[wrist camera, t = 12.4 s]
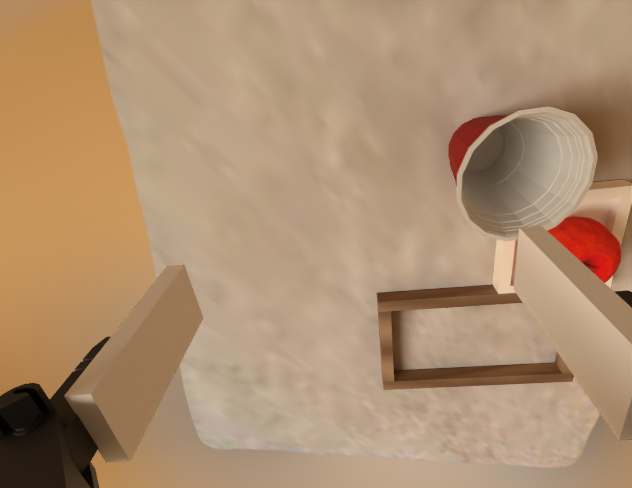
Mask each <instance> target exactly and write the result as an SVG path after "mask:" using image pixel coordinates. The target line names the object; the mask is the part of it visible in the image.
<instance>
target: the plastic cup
mask: <svg viewBox="0 0 632 488" xmlns="http://www.w3.org/2000/svg"><path fill="white" fill-rule="evenodd" d="M449 159H450V166H451V169H452V172H453V175H454V178H455V180H456V186H457V188H456V200H457V203H458V205H459V208H460V210H461V212H462V215H463V217H464V219H465V222H467V223H468V224H469V225H470V226H471V227H473V228H474V229H475V230H476V231H478V232H479V233H480V234H481V235H482V236H486V237H490V238H494V239H498V240H502V241H512V240H518V235H519V228H522V227H531V226H540V225H541V226H542V227H543V228H545V229H546V230H550V229H552V228H554V227H556V226H557V225H558V224H559V223H561V222H562V221H563V220H564V219H565V218H566V217H567V216H569V215H570V214H571V213H572V212H573V211H574V210H575V209H577V208H578V206H579V204H580V203H581V201H582V200H583V198H584V196H585V195H586V193H587V191H588V190H589V188H590V187H591V185H592V183H593V178H594V174H595V169H596V164H597V159H598V155H597V151H596V146H595V142H594V138H593V133H592V132H591V131H590V129H589V128H588V127H587V126H586V125H585V124H584V123H583V122H582V121H581V120H580V119H579V118H578V117H577V116H576V114H573V113H570V112H566V111H563V110H560V109H557V108H553V107H550V106H548V107H541V108H533V109H526V110H519V111H516V112H514V113H512V114H510V115H509V116H492V117H482V118H474V119H472V120H470V121H468V122H466V123H464V124H462V125H461V126H460V127H459V128H458V129H457V130H456V132H455V133H454V134H453V136H452V139H451V141H450V143H449Z"/></svg>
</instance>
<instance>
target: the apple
mask: <svg viewBox="0 0 632 488" xmlns="http://www.w3.org/2000/svg"><path fill="white" fill-rule="evenodd" d="M547 231H548V232H549V233H550V234H551V235H552V236H553V237H554V238H556V239H557V240H558V241H559V242H560V243H561V244H562V245H563V246H564V247H565V248H567V249H568V250H569V251H570V252H571V253H572V254H573V255H574V256H575V257H576V258H578V259H579V260H580V261H581V262H582V263H583V264H584V265H585V266H586V267H587V268H589V269H590V270H591V271H592V272H593V273H594V274H595V275H596V276H597V277H598V278H600V279H601V280H602V281H603V282H604V283H605V282H607V281H608V280H609V279H610V278H611V277H612V276H613V275H614V273H615V272H616V270H617V268H618V266H619V263H620V258H621V248H620V243H619V241H618V240H617V238H616V237H615V236H614V235H613V234H612V233H611V232H610V231H609V230H608V229H607V228H606V227H605V226H604V225H603V224H601V223H600V222H598V221H596V220H594V219H591V218H587V217H577V216H572V217H568V218H565V219H564V220H563V221H562V222H561V223H559V224H558V225H557V226H556V227H554V228H552V229H550V230H547Z"/></svg>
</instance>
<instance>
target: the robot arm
mask: <svg viewBox="0 0 632 488" xmlns="http://www.w3.org/2000/svg"><path fill="white" fill-rule="evenodd" d="M514 291H515V292H516V294H517V295H518V297H519V298H520V299H521V301H522V302H523V304H524V305H525V307H526V308H527V309H528V311H529V312H530V314H531V315H532V317H533V318H534V319H535V321H536V322H537V324H538V325H539V327H540V328H541V329H542V331H543V332H544V334H545V335H546V337H547V338H548V339H549V341H550V342H551V344H552V345H553V347H554V348H555V349H556V351H557V352H558V354H559V355H560V357H561V358H562V359H563V361H564V362H565V364H566V365H567V367H568V368H569V369H570V371H571V372H572V374H573V375H574V377H575V378H576V380H577V381H578V382H579V384H580V385H581V387H582V388H583V390H584V391H585V392H586V394H587V395H588V397H589V398H590V400H591V401H592V402H593V404H594V405H595V407H596V408H597V410H598V411H599V412H600V414H601V415H602V417H603V418H604V420H605V421H606V422H607V424H608V425H609V427H610V428H611V430H612V431H613V432H614V434H615V435H616V436H617V438H618V439H619V440H632V292H630V291H617V292H614V291H613V290H612V289H611V288H609V287H608V286H607V285H606V284H605V283H604V282H603V281H602V280H601V279H600V278H598V277H597V276H596V275H595V274H594V273H593V272H592V271H591V270H590V269H589V268H587V267H586V266H585V265H584V264H583V263H582V262H581V261H580V260H579V259H578V258H576V257H575V256H574V255H573V254H572V253H571V252H570V251H569V250H568V249H567V248H565V247H564V246H563V245H562V244H561V243H560V242H559V241H558V240H557V239H556V238H554V237H553V236H552V235H551V234H550V233H549V232H548V231H547V230H546V229H545V228H543V227H542V226H541V225H540V226H531V227H522V228H519V235H518V247H517V258H516V269H515V280H514ZM202 319H203V316H202V313H201V310H200V307H199V305H198V302H197V299H196V296H195V293H194V291H193V288H192V285H191V282H190V279H189V277H188V274H187V271H186V268H185V266H184V265H176V266H167V267H166V268H165V269H164V271H163V272H162V273H161V274H160V276H159V277H158V278H157V279H156V281H155V282H154V283H153V284H152V286H151V287H150V288H149V290H148V291H147V292H146V293H145V295H144V296H143V297H142V298H141V300H140V301H139V302H138V303H137V305H136V306H135V307H134V308H133V310H132V311H131V312H130V313H129V315H128V316H127V317H126V318H125V320H124V321H123V322H122V324H121V325H120V326H119V327H118V329H117V330H116V331H115V332H114V334H113V335H112V336H111V337H106V338H105V339H103V340H102V341H101V342H100V343H98V344H97V345H96V346H95V347H93V348H92V349H91V350H90V352H89V353H88V354H87V355H86V356H85V358H84V359H83V362H81V363H80V364H79V365H78V366H77V367H76V369H75V372H72V373H71V375H70V376H69V377H68V378H67V380H66V381H65V382H64V383H63V384H62V386H61V387H60V388H59V389H58V390H57V392H56V393H55V394H54V395H53V396H52V398H51V399H50V400H49V398H48V397H47V395H46V394H45V392H44V391H43V389H42V388H41V386H40V385H39V384H36V383H30V384H24V385H21V386H19V387H16V388H13V389H11V390H10V391H8V392H6V393H4V394H3V395H2V396H0V488H99V485H98V480H97V475H96V471H95V468H94V467H93V465H92V463H91V462H90V461H91V460H92V458H93V456H94V455H95V453H96V451H97V450H99V452H100V453H101V455H102V457H103V458H104V460H105V461H106V462H123V461H130V460H131V459H132V457H133V454H134V453H135V451H136V449H137V447H138V445H139V443H140V441H141V439H142V437H143V435H144V433H145V431H146V429H147V427H148V425H149V423H150V421H151V419H152V417H153V415H154V413H155V411H156V410H157V408H158V406H159V404H160V401H161V400H162V398H163V396H164V394H165V392H166V390H167V388H168V386H169V384H170V382H171V380H172V378H173V376H174V374H175V372H176V370H177V368H178V366H179V364H180V362H181V360H182V359H183V357H184V355H185V353H186V351H187V349H188V347H189V345H190V343H191V341H192V339H193V337H194V335H195V333H196V331H197V329H198V327H199V325H200V323H201V321H202Z"/></svg>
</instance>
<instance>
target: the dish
mask: <svg viewBox="0 0 632 488" xmlns="http://www.w3.org/2000/svg"><path fill="white" fill-rule="evenodd" d="M631 204H632V183H630V182H628V181H626V180H624V179H623V180H612V181H602V182H593V183H592V185H591V187H590V188H589V190H588V191H587V193H586V195H585V196H584V198H583V200H582V201H581V203H580V204H579V206H578V208H577V209H575V210H574V211H573V212H572V213H571V214H570V215H569V216H567V217H566V218H568V217H572V216H577V217H587V218H591V219H594V220H596V221H598V222H600V223H601V224H603V225H604V226H605V227H606V228H607V229H608V230H609V231H610V232H611V233H612V234H613V235H614V236H615V237H616V238H617V240H618V241H619V243H620V248H621V244H622V240H623V236H624V232H625V228H626V224H627V220H628V216H629V212H630V208H631ZM517 247H518V240H512V241H502V240H498V239H497V243H496V253H495V264H494V275H493V286H494V288H495V289H496V291H497V292H498V294H505V293H508V294H509V293H516V292H515V291H514V280H515V269H516V258H517ZM612 279H613V276H612V277H611V278H610V279H609V280H608V281H607V282H605V284H606V285H607V286H608V287H609V288H610V287H611V283H612ZM508 294H507V295H508ZM505 295H506V294H505ZM509 295H510V294H509Z"/></svg>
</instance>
